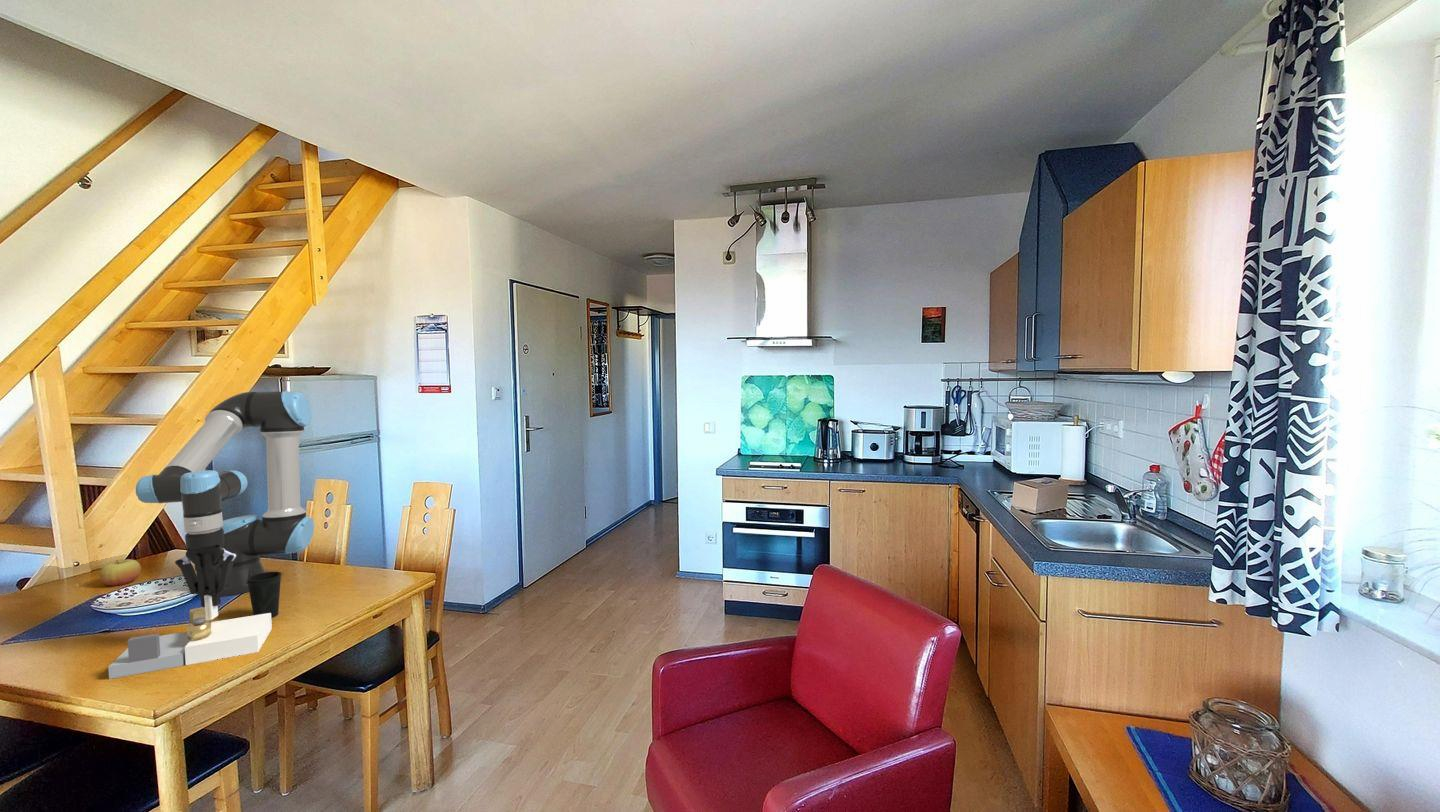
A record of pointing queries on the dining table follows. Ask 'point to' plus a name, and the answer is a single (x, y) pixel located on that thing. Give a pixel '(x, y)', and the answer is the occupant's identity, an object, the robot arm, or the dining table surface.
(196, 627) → the bar
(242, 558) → the robot arm
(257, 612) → the cup
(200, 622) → the doorframe
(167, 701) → the dining table surface
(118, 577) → the apple
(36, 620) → the dining table surface
